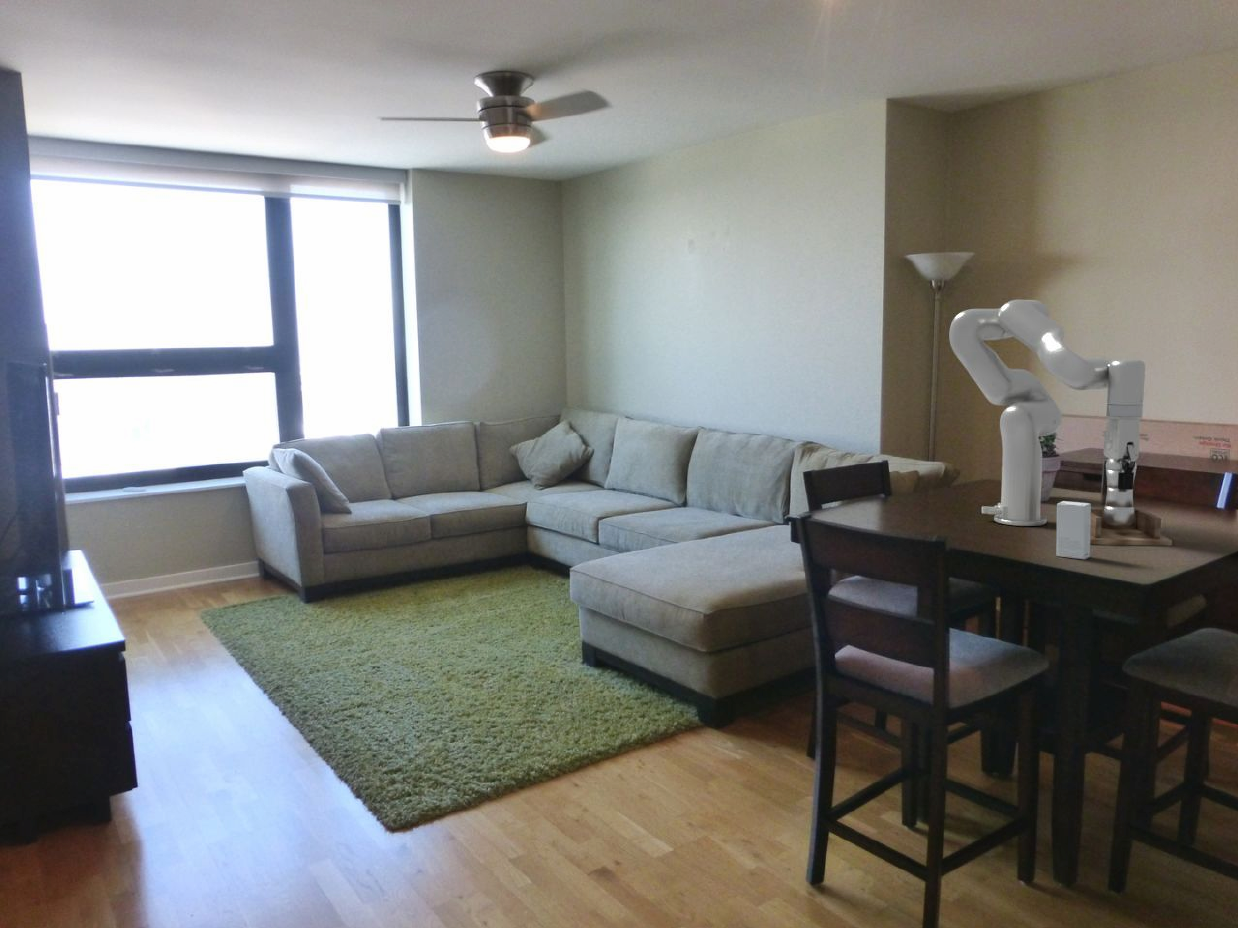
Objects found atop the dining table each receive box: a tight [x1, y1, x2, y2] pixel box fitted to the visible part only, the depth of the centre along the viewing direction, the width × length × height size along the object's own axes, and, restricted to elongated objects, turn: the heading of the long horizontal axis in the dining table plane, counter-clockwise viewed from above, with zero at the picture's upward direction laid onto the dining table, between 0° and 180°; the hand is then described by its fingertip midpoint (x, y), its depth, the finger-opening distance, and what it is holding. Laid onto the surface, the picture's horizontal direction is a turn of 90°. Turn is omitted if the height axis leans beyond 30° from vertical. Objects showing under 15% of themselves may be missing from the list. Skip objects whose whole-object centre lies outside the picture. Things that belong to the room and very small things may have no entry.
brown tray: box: [1090, 507, 1173, 547], centre depth 221 cm, size 18×16×6 cm
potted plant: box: [1038, 433, 1073, 502], centre depth 273 cm, size 18×20×25 cm
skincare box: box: [1055, 500, 1092, 560], centre depth 203 cm, size 6×4×12 cm
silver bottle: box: [1103, 458, 1138, 526], centre depth 219 cm, size 6×7×20 cm
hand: (1120, 486), depth 219 cm, fingers closed on silver bottle, 6 cm apart
